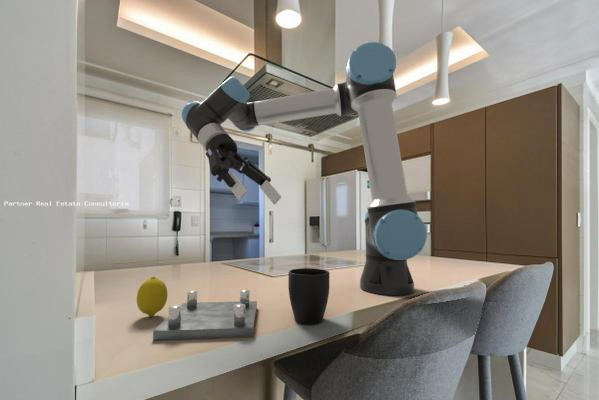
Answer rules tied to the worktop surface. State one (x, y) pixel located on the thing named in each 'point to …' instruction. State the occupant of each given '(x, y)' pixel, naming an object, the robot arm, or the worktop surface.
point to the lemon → (152, 296)
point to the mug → (308, 294)
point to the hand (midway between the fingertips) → (262, 198)
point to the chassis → (208, 319)
